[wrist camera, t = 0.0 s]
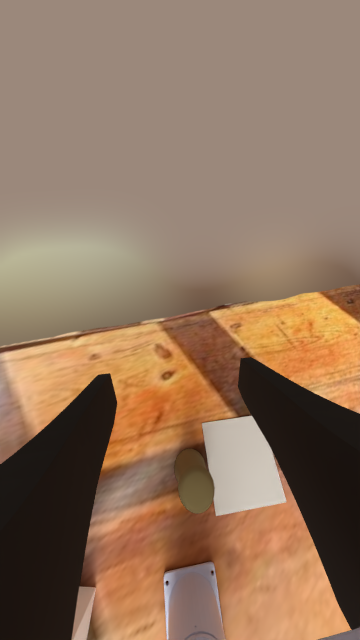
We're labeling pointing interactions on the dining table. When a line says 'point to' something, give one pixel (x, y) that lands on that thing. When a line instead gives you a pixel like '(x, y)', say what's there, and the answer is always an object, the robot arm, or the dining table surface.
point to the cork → (194, 481)
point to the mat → (241, 466)
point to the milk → (83, 612)
